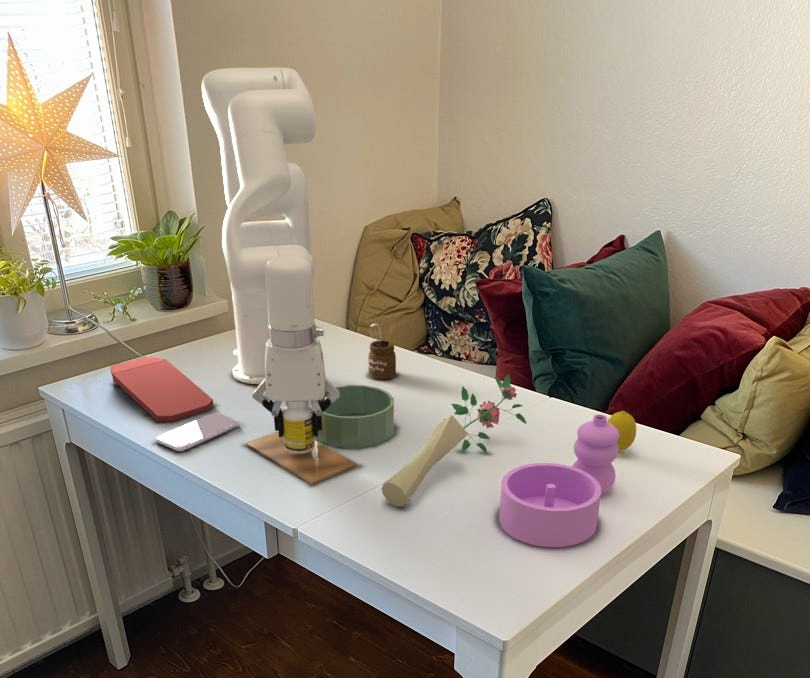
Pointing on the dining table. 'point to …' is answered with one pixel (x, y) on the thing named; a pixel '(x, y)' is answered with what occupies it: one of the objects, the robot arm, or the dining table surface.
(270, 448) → the wooden board
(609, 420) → the lemon
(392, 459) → the dining table surface
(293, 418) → the supplement bottle
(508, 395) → the flower vase
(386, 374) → the utensil holder
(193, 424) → the mobile phone
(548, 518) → the container set
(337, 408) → the bowl
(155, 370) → the red wedge block
